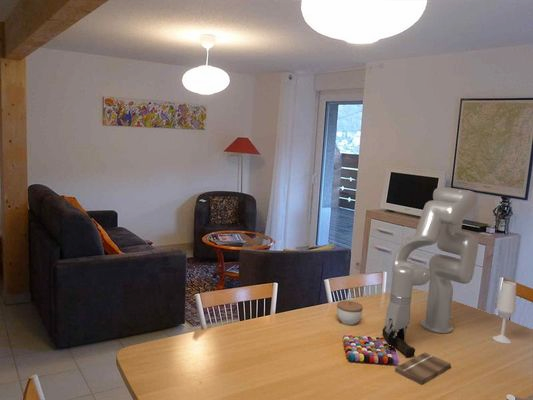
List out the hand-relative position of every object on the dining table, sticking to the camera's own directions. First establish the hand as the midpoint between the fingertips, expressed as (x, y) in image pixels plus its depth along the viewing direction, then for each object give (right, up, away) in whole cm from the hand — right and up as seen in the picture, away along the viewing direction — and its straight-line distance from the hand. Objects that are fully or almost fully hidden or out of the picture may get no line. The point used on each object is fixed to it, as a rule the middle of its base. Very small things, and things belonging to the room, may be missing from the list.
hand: (395, 344), depth 174 cm
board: (+5, -3, -17) cm, 18 cm away
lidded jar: (-14, +3, +20) cm, 25 cm away
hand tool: (0, -1, 0) cm, 1 cm away
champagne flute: (+46, -2, +11) cm, 48 cm away
